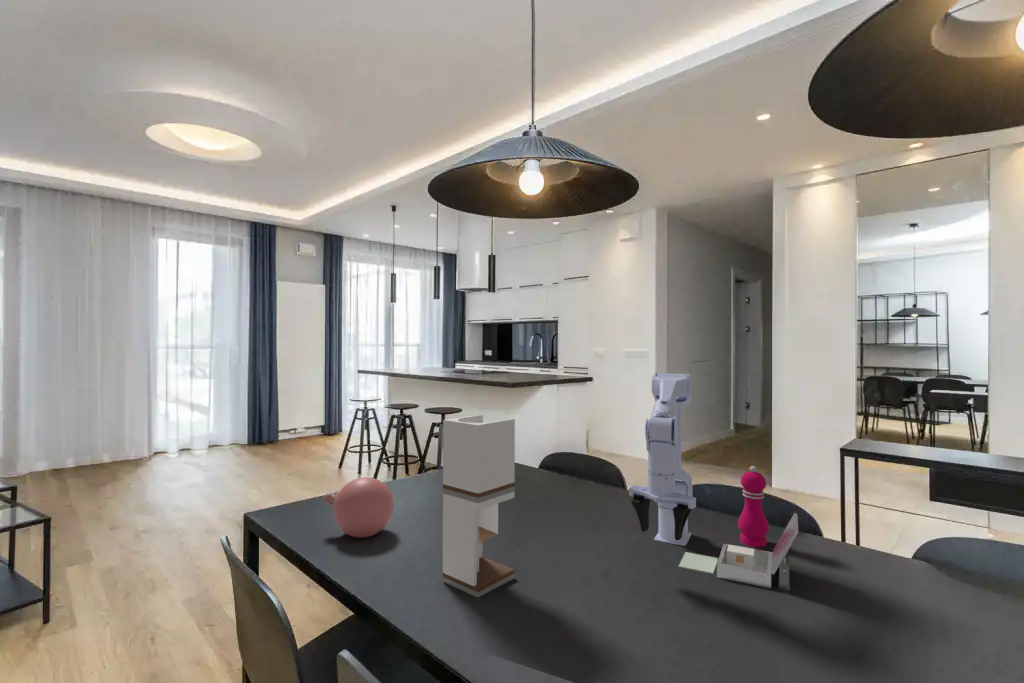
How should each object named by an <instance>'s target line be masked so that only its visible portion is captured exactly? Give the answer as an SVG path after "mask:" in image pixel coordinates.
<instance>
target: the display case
mask: <svg viewBox="0 0 1024 683" xmlns="http://www.w3.org/2000/svg"><path fill="white" fill-rule="evenodd" d="M442 424H443V425H442V428H443V429H442V433H443V434H442V448H443V449H442V583H444V582H445V584H446V583H447V584H446V585H448V586H449V585H450V586H451V585H452V586H451V587H453V588H456V589H458V590H460V591H462V592H464V593H467V594H469V595H471V596H473V597H476V598H477V599H478V598H479V597H481V596H483V595H486V594H487V593H489V592H491V591H493V590H495V589H497V588H499V587H500V586H503V585H505V584H506V583H508V582H510V581H512V580H514V579H515V568H512V567H509V566H507V565H504V564H501V563H499V562H496V561H494V560H491V559H489V558H485V557H483V542H484V541H485V540H486V541H487V540H489V539H491V538H494V537H496V536H498V535H499V504H500V503H503V502H507V501H508V500H512V499H514V498H515V496H516V495H515V489H516V488H515V486H516V485H515V480H516V477H515V476H516V474H515V472H516V469H515V468H516V467H515V465H516V463H515V461H516V459H515V456H516V455H515V453H516V452H515V451H516V450H515V449H516V448H515V447H516V443H515V442H516V440H515V439H516V435H515V433H516V431H515V430H516V428H515V427H516V426H515V425H516V420H515V418H507V419H501V420H496V421H488V422H484V414H476V415H469V416H462V417H456V418H449V419H448V418H447V419H442Z"/></svg>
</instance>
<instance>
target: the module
mask: <svg viewBox="0 0 1024 683" xmlns="http://www.w3.org/2000/svg"><path fill="white" fill-rule="evenodd" d="M755 549H756V548H753V547H752V548H751V547H745V546H741V545H740V546H739V545H733V544H729V545H728V548H727V564H728V565H733V566H738V567H744V568H749V569H754V570H755Z"/></svg>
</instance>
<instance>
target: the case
mask: <svg viewBox="0 0 1024 683" xmlns="http://www.w3.org/2000/svg"><path fill="white" fill-rule="evenodd" d="M728 545H730V544H728V543H723V545H722V547H721V550H720V552H719V553H720V554H719V557H718V561H717V564H716V578H719V579H722V580H728V581H733V582H737V583H743V584H747V585H753V586H757V587H762V588H766V589H767V588H768V589H772V581H773V580H772V579H773V574H772V573H771V566H772V553H773V551H767V550H762V549H756V548H754V549H755V570H754V569H749V568H744V567H738V566H733V565H728V564H727V548H728ZM778 568H779V569H778V590H782V591H788V592H790V567H789V550H788V551H787V553H786V555H785V556H784V558H783V560H782V562H781V563H780V565H779V567H778Z"/></svg>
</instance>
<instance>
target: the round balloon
mask: <svg viewBox="0 0 1024 683" xmlns="http://www.w3.org/2000/svg"><path fill="white" fill-rule="evenodd" d="M322 498H323V503H325V504H326V505H328V506H329V507H333V516H334V520H335V522H336V524H337V526H338V527H339V529H340V530H341V531H342V532H344V533H345V534H346V535H348V536H350V537H354V538H357V539H358V538H361V539H363V538H368V537H372V536H375V535H376V534H378V533H380V532H381V531H382V530H383V529H384V528H385V527H386V526H387V525H388V524H389V522H390V521H391V518H392V516H393V512H394V507H395V506H394V505H395V504H394V497H393V494H392V492H391V491H390V489H389V487H388V486H387V485H386V484H385V483H384V482H382V481H381V480H379V479H377V478H374V477H366V476H365V477H359V478H355V479H353V480H351V481H349V482H347V483H346V484H345V485H344V486H343V487H342V488H341V489H340V490H337V491H335V492H334V493H327V494H324V495H323V497H322Z"/></svg>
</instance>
